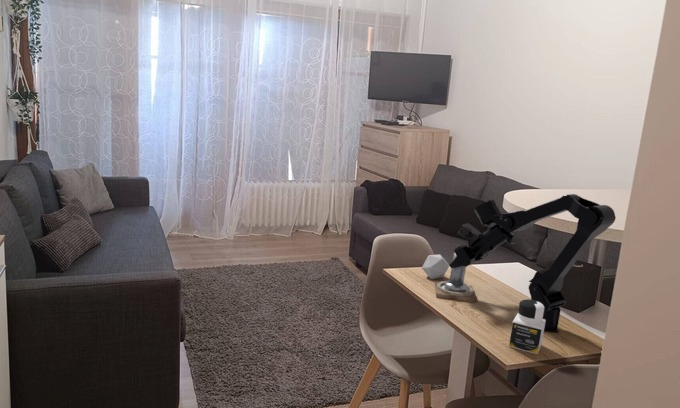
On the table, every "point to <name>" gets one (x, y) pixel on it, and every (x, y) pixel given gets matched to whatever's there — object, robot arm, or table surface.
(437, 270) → the die
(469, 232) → the robot arm
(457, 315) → the table surface
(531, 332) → the medicine bottle
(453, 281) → the silver round peg
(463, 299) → the board
